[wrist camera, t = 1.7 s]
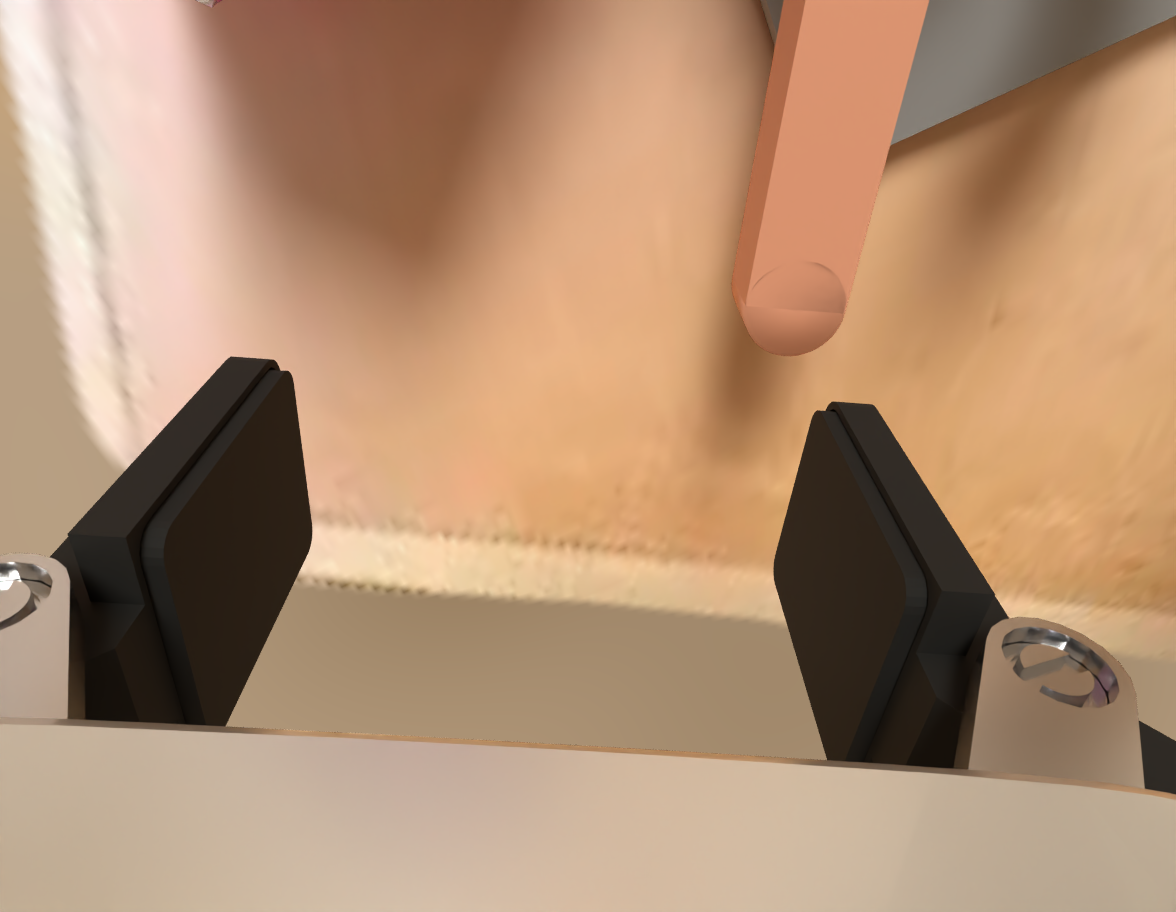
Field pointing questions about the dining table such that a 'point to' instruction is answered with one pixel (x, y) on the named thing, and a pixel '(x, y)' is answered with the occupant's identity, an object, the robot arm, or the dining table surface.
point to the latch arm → (820, 164)
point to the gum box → (209, 2)
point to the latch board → (1001, 48)
